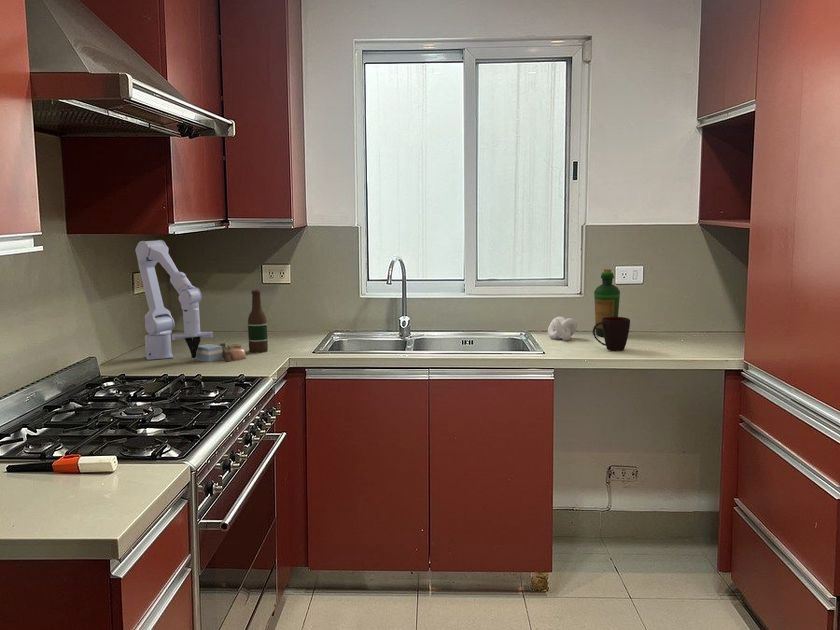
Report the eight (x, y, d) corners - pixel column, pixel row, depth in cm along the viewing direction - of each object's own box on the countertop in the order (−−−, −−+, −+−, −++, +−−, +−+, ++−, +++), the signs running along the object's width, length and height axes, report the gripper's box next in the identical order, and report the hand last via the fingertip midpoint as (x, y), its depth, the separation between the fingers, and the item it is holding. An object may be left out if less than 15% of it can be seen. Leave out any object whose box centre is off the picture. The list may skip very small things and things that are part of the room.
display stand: (199, 363, 292) (199, 352, 291) (195, 356, 306) (194, 345, 305) (231, 361, 295) (230, 349, 295) (225, 354, 310) (224, 342, 309)
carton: (209, 362, 295) (208, 348, 294) (196, 359, 300) (195, 346, 299) (222, 359, 299) (222, 346, 299) (210, 357, 305) (209, 344, 304)
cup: (632, 351, 303) (633, 320, 302) (597, 353, 302) (597, 321, 300) (623, 347, 313) (623, 316, 311) (588, 348, 312) (589, 317, 310)
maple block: (231, 357, 304) (230, 346, 304) (227, 355, 308) (227, 345, 307) (241, 355, 306) (240, 345, 306) (237, 354, 310) (237, 344, 309)
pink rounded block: (230, 361, 297) (229, 351, 296) (227, 358, 302) (227, 349, 302) (246, 359, 299) (246, 350, 298) (244, 356, 305) (243, 347, 304)
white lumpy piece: (540, 339, 334) (540, 317, 333) (558, 335, 342) (558, 314, 341) (562, 342, 326) (562, 320, 324) (580, 338, 334) (580, 317, 332)
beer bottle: (264, 353, 311) (261, 291, 307) (245, 352, 312) (242, 291, 309) (271, 349, 318) (269, 289, 315) (253, 349, 320) (250, 289, 317)
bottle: (588, 335, 342) (589, 269, 338) (608, 333, 346) (609, 268, 343) (603, 338, 332) (605, 271, 328) (624, 336, 337) (626, 269, 333)
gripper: (171, 324, 289) (173, 361, 291) (213, 321, 294) (215, 358, 296) (170, 321, 295) (172, 357, 297) (211, 318, 300) (212, 354, 302)
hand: (193, 357), depth 297 cm, fingers closed
